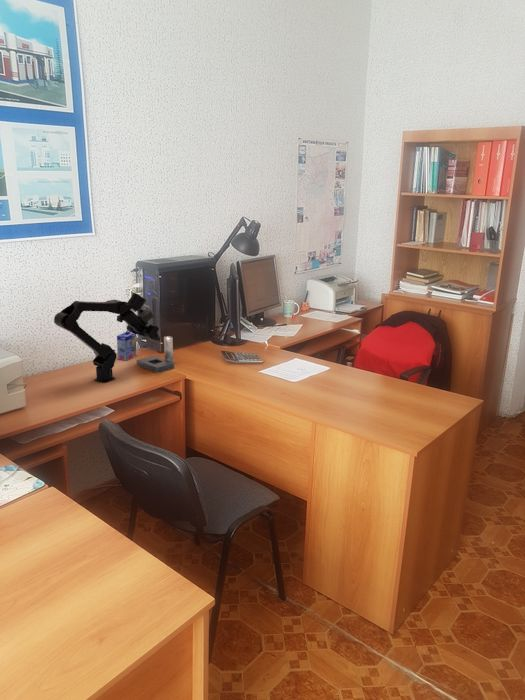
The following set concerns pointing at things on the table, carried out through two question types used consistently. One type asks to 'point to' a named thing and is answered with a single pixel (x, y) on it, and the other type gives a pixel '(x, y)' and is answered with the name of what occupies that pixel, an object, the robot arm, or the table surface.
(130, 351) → the ink cartridge box
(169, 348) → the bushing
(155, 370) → the jig
